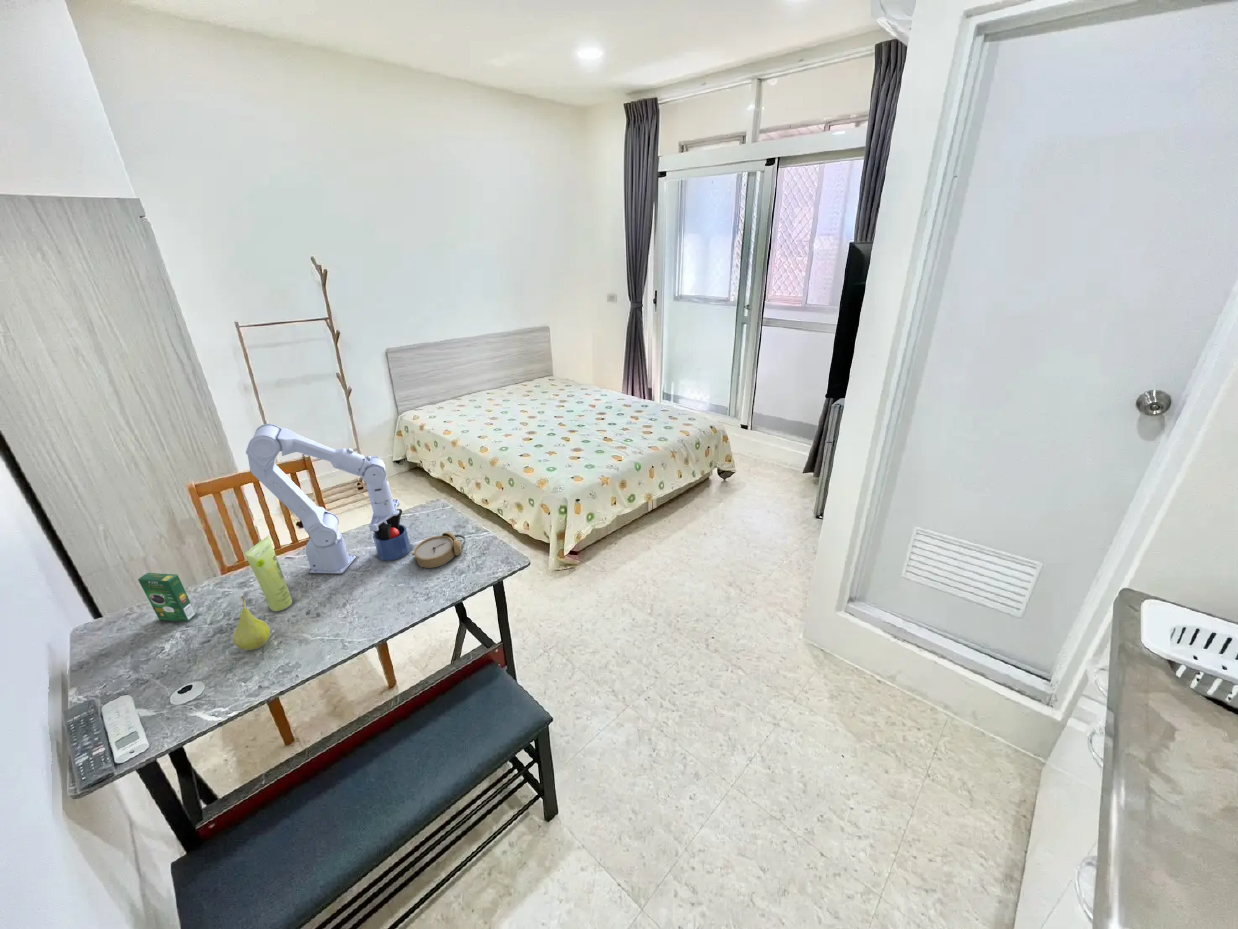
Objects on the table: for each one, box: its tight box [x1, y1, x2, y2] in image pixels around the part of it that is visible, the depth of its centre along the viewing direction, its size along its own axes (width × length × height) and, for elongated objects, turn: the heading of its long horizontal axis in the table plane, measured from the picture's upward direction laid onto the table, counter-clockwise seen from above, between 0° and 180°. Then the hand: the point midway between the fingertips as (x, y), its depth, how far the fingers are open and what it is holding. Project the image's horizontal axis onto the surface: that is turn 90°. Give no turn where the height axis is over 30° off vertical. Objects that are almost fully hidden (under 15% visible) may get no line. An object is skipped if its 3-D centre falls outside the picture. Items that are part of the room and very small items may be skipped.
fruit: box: [232, 595, 271, 651], centre depth 111 cm, size 7×8×12 cm
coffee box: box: [137, 572, 197, 623], centre depth 119 cm, size 8×3×13 cm, turn 86°
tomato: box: [390, 527, 400, 539], centre depth 144 cm, size 5×5×6 cm
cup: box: [372, 523, 411, 562], centre depth 145 cm, size 9×9×7 cm
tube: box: [244, 534, 293, 612], centre depth 121 cm, size 6×5×20 cm
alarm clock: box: [411, 531, 467, 569], centre depth 144 cm, size 11×5×15 cm
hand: (391, 538), depth 145 cm, fingers closed on tomato, 5 cm apart
